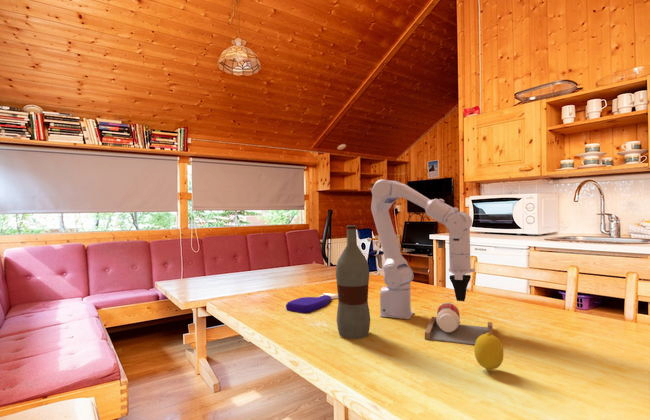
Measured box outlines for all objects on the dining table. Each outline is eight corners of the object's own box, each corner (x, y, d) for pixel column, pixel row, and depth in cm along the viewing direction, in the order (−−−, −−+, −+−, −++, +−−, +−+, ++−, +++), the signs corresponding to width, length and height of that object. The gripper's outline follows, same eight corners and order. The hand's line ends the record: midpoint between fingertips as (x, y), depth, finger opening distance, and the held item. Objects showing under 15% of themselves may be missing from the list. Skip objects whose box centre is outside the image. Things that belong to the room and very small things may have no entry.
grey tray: (424, 339, 95) (424, 332, 95) (432, 322, 109) (432, 316, 109) (493, 347, 89) (493, 340, 89) (492, 328, 102) (492, 322, 102)
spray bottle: (308, 306, 121) (344, 292, 142) (282, 302, 127) (320, 290, 148) (308, 315, 121) (344, 300, 142) (282, 310, 127) (320, 297, 148)
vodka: (373, 330, 103) (371, 224, 103) (366, 341, 95) (364, 226, 95) (342, 327, 106) (340, 224, 106) (332, 337, 98) (330, 226, 98)
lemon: (470, 366, 78) (469, 329, 78) (494, 364, 79) (493, 327, 79) (483, 377, 73) (482, 337, 73) (509, 376, 73) (508, 336, 73)
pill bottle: (451, 298, 107) (451, 307, 97) (463, 316, 106) (464, 328, 96) (433, 308, 109) (431, 319, 98) (445, 326, 108) (444, 339, 97)
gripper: (474, 257, 97) (475, 308, 97) (475, 251, 110) (476, 296, 110) (446, 256, 100) (447, 305, 100) (450, 250, 113) (451, 294, 113)
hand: (460, 300), depth 105 cm, fingers closed
